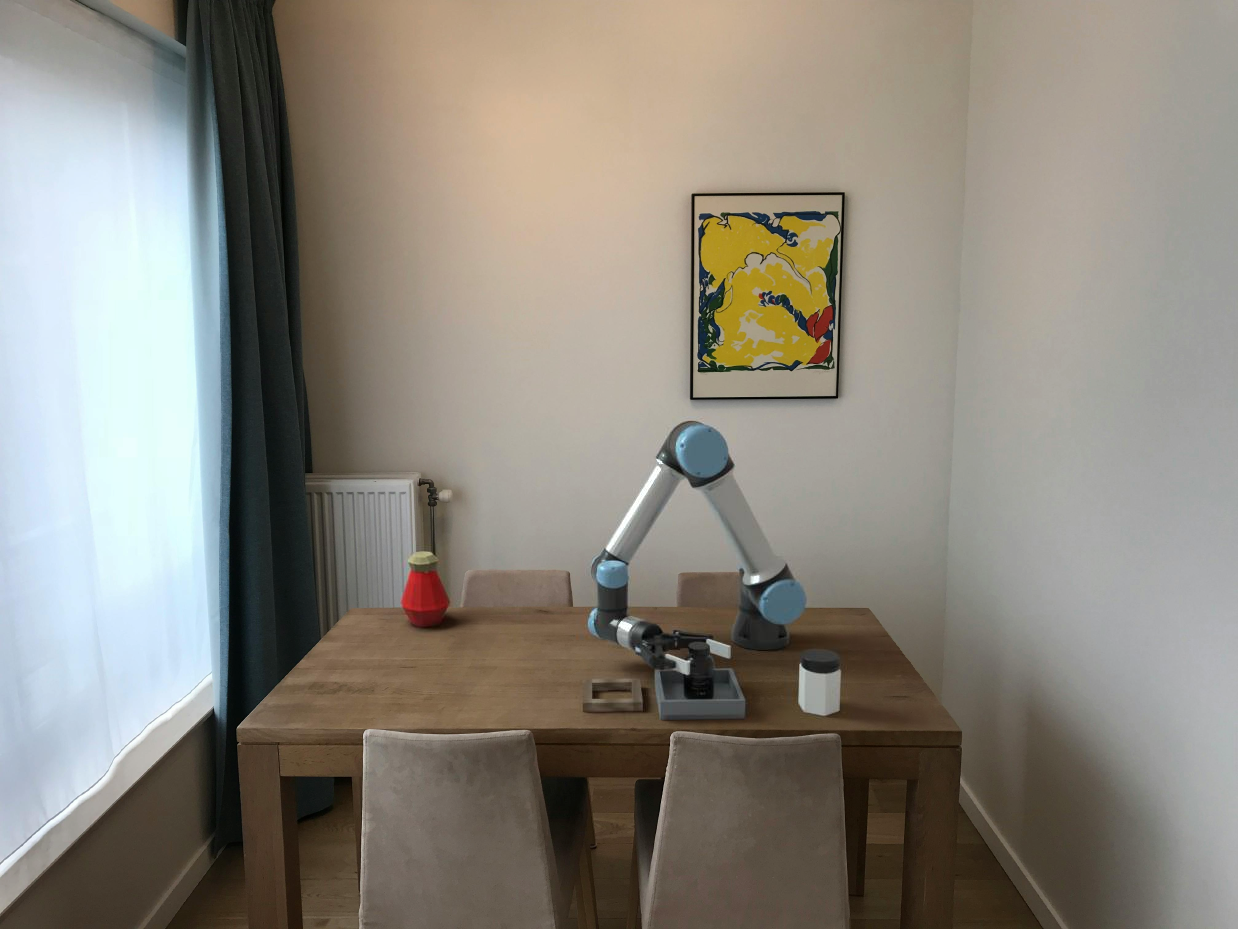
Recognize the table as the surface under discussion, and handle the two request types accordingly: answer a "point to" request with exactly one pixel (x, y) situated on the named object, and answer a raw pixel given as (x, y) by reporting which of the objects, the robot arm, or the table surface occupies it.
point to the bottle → (424, 592)
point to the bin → (721, 706)
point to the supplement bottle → (699, 672)
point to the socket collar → (612, 704)
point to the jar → (819, 682)
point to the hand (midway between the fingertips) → (709, 660)
